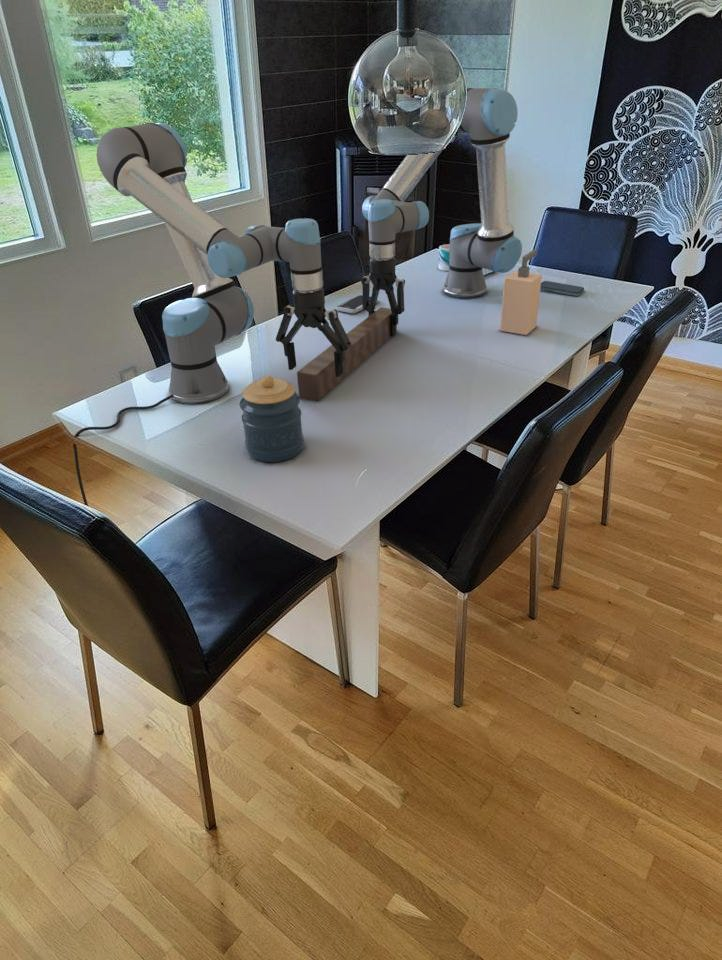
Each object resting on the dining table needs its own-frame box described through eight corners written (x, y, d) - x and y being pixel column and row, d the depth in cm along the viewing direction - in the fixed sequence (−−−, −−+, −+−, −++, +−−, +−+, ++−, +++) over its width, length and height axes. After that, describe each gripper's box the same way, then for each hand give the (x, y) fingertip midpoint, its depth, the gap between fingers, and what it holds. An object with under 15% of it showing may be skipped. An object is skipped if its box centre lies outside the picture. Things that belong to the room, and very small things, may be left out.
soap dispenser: (526, 335, 203) (534, 261, 191) (499, 330, 207) (505, 258, 195) (541, 322, 212) (549, 251, 200) (515, 318, 216) (521, 248, 204)
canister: (251, 467, 144) (240, 393, 134) (242, 439, 155) (232, 368, 145) (310, 457, 147) (303, 383, 137) (297, 430, 157) (291, 360, 148)
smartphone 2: (578, 293, 231) (536, 285, 238) (577, 297, 232) (536, 290, 239) (585, 287, 236) (544, 280, 243) (584, 291, 237) (543, 284, 244)
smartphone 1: (378, 298, 234) (353, 310, 224) (378, 301, 235) (353, 314, 225) (360, 294, 238) (335, 306, 228) (360, 298, 239) (335, 310, 228)
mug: (435, 269, 266) (435, 247, 261) (448, 261, 274) (449, 240, 270) (453, 271, 262) (454, 249, 258) (466, 264, 270) (467, 242, 266)
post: (317, 401, 170) (315, 375, 166) (299, 398, 172) (296, 372, 169) (396, 331, 210) (396, 309, 206) (380, 329, 212) (380, 307, 208)
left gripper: (362, 288, 158) (366, 372, 169) (271, 280, 167) (281, 360, 179) (348, 297, 152) (353, 383, 163) (255, 288, 162) (266, 370, 173)
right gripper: (416, 256, 194) (415, 333, 207) (359, 251, 201) (361, 326, 214) (407, 263, 189) (406, 341, 201) (348, 258, 196) (351, 334, 208)
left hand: (315, 371), depth 171 cm, fingers open, 13 cm apart
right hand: (383, 333), depth 208 cm, fingers closed on post, 5 cm apart
